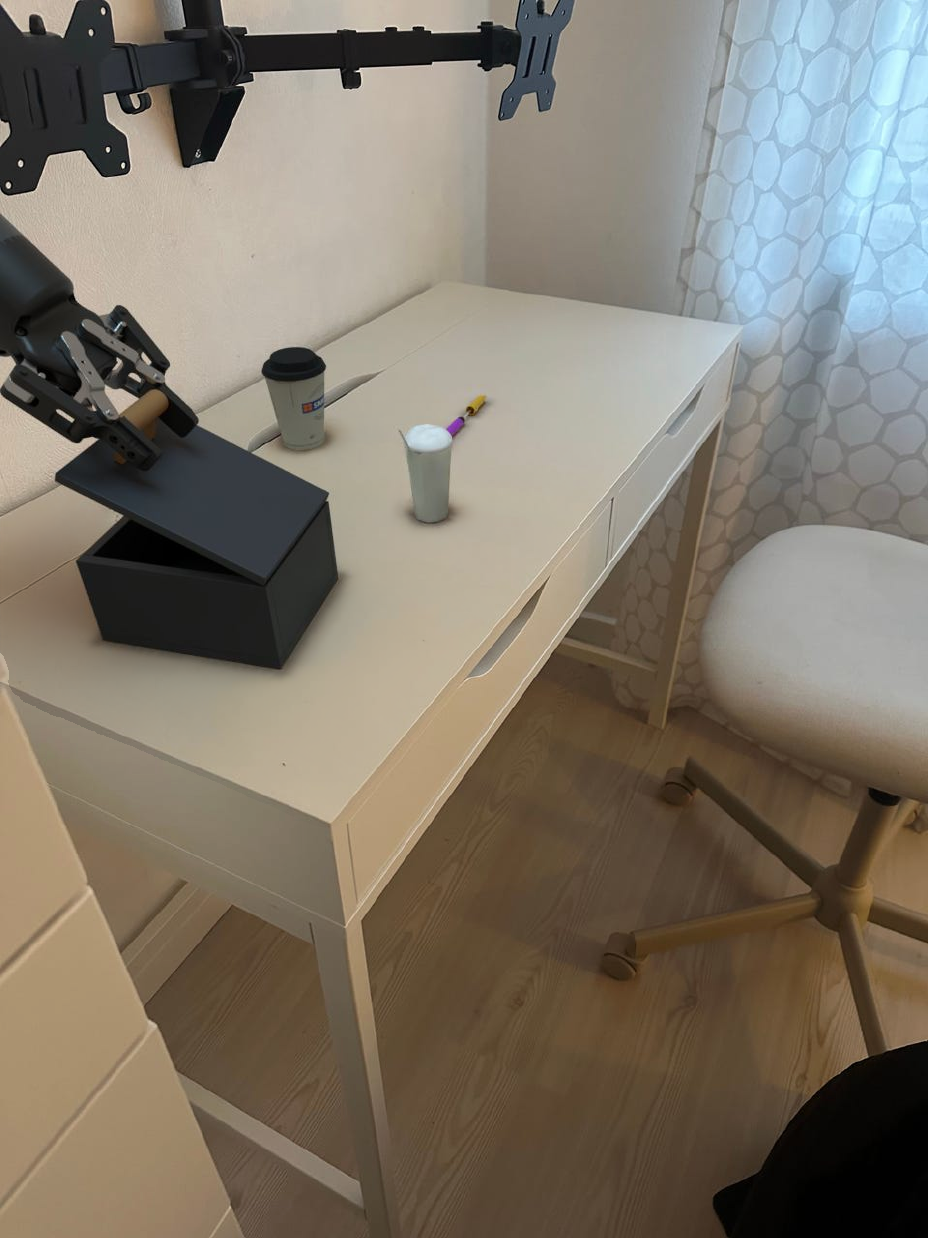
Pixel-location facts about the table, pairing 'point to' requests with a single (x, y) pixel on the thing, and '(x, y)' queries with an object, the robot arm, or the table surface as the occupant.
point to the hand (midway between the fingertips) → (173, 445)
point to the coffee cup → (297, 395)
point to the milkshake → (429, 470)
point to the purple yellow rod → (470, 410)
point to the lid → (200, 493)
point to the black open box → (205, 594)
